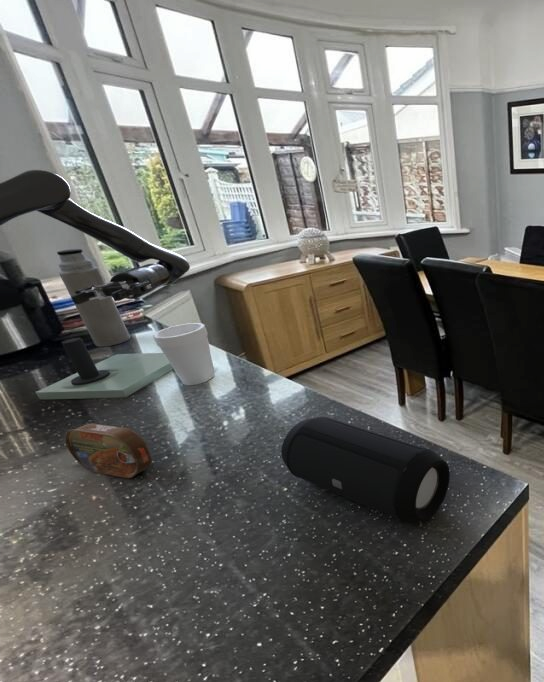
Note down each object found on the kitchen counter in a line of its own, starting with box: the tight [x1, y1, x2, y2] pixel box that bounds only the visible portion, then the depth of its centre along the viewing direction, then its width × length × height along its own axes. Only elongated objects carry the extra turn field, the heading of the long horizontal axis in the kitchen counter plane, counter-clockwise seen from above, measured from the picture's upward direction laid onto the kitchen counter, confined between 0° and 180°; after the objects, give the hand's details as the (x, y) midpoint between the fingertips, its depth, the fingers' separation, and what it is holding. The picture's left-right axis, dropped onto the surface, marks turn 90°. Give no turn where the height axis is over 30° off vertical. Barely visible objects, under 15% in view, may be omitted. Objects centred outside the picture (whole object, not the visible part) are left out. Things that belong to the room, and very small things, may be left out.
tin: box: [65, 422, 153, 479], centre depth 65 cm, size 15×3×8 cm, turn 76°
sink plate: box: [35, 352, 174, 401], centre depth 98 cm, size 20×20×2 cm
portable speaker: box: [280, 416, 451, 523], centre depth 59 cm, size 26×10×10 cm, turn 65°
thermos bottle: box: [56, 248, 131, 348], centre depth 115 cm, size 8×8×28 cm
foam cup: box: [152, 322, 215, 386], centre depth 94 cm, size 10×9×13 cm
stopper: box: [60, 337, 110, 385], centre depth 92 cm, size 7×7×12 cm
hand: (94, 298), depth 97 cm, fingers open, 8 cm apart
